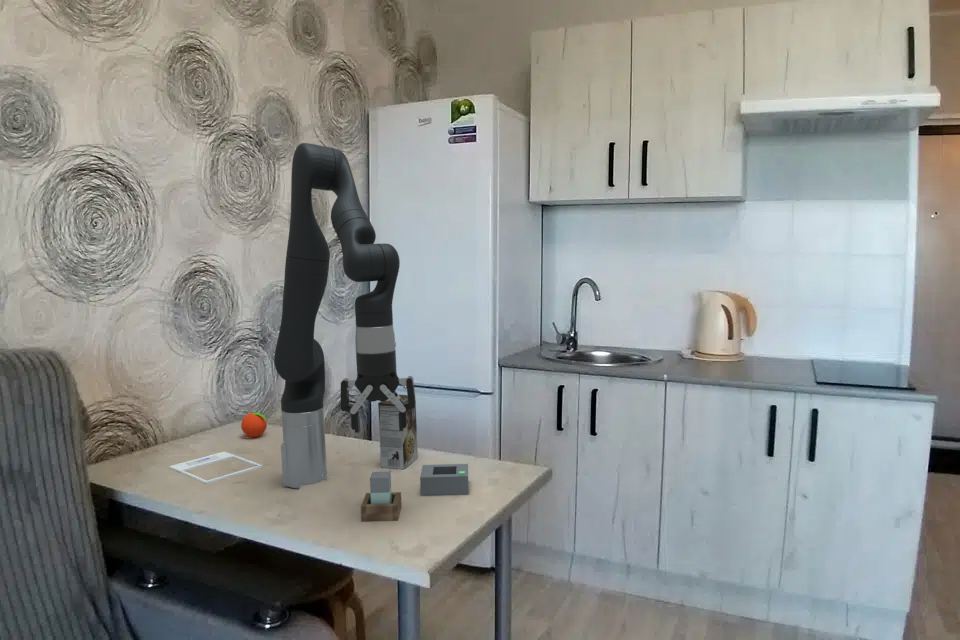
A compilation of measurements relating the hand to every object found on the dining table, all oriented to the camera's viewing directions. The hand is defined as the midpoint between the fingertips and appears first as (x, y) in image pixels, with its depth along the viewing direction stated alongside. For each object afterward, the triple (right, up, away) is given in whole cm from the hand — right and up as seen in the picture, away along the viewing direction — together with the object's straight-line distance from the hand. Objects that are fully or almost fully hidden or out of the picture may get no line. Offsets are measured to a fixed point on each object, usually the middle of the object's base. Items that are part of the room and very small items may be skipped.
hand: (379, 430), depth 135 cm
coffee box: (0, -14, +36) cm, 38 cm away
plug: (0, -17, +2) cm, 17 cm away
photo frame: (-45, -15, +35) cm, 59 cm away
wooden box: (0, -18, +2) cm, 18 cm away
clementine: (-44, -12, +61) cm, 76 cm away
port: (+12, -16, +15) cm, 25 cm away
